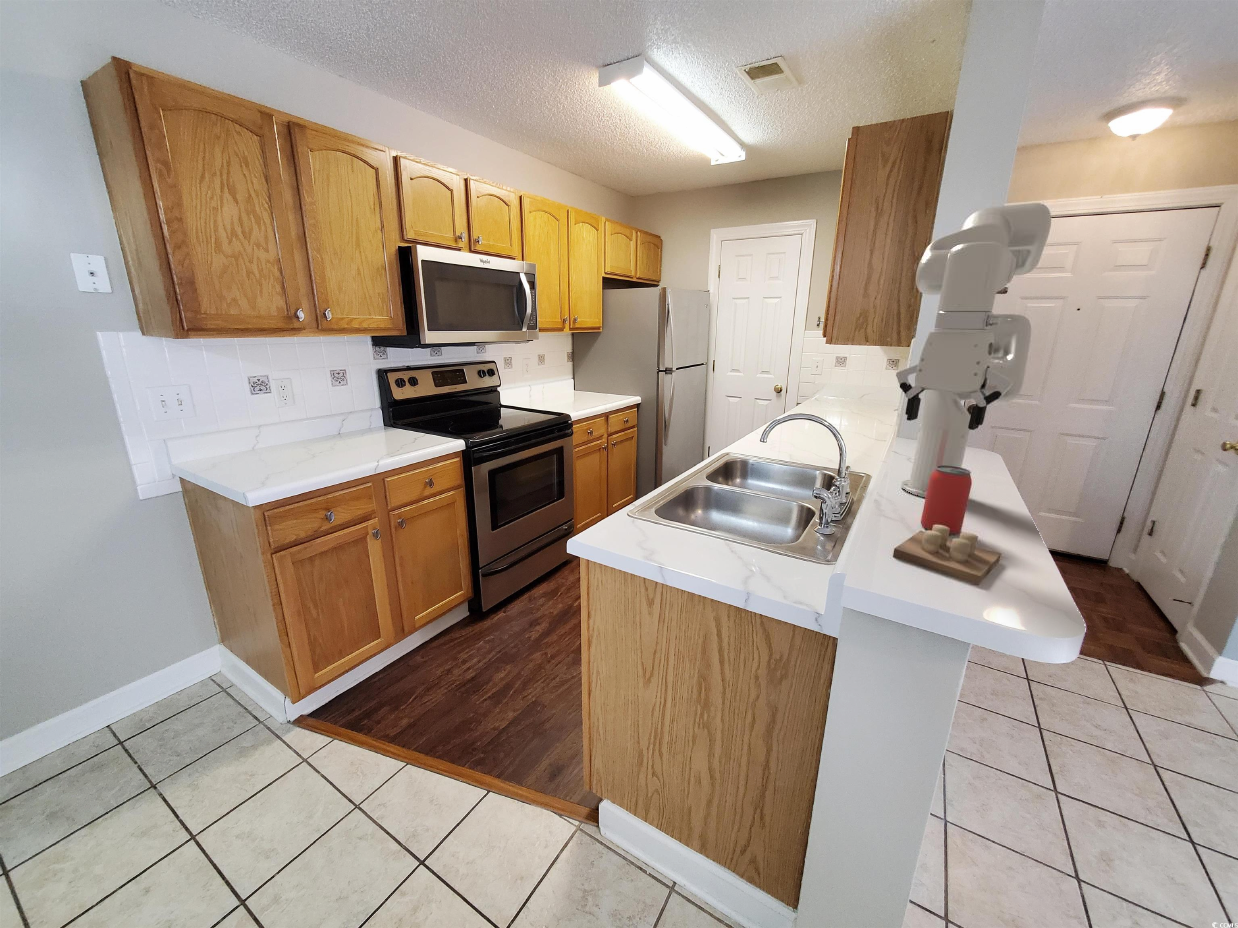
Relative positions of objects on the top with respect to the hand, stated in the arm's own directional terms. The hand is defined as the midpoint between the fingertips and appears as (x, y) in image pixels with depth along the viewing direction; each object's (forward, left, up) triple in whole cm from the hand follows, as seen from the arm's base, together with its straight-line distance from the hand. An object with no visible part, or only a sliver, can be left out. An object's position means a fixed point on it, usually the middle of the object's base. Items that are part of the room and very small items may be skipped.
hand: (941, 424), depth 86 cm
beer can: (-5, +2, -21) cm, 21 cm away
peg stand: (+9, +7, -21) cm, 24 cm away
